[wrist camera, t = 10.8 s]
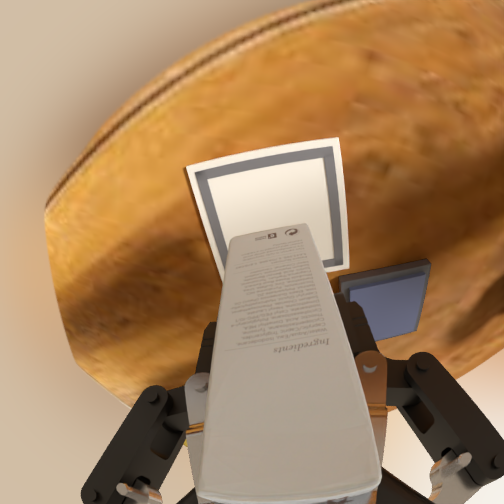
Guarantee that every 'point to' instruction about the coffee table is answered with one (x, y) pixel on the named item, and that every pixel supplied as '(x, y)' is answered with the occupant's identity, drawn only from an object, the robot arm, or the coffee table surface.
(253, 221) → the marked card
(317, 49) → the coffee table surface
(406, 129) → the coffee table surface
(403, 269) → the ink pad
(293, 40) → the coffee table surface
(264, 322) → the skincare box
